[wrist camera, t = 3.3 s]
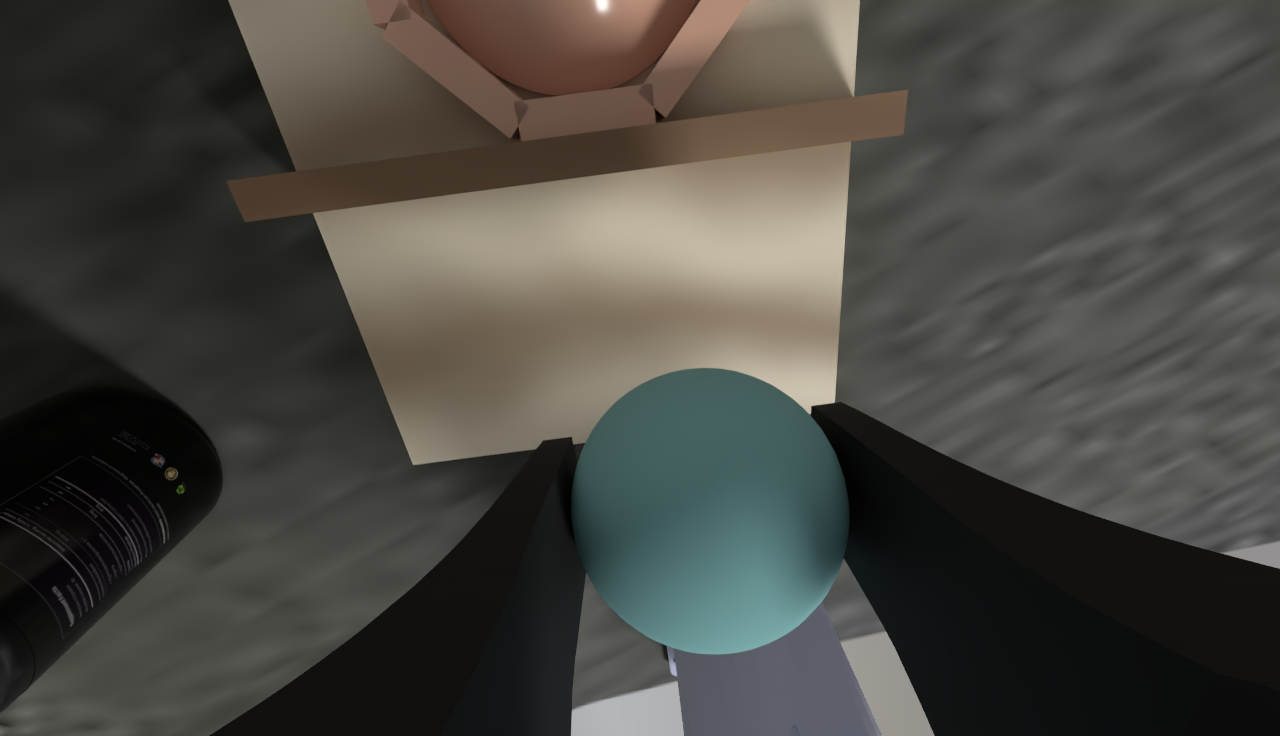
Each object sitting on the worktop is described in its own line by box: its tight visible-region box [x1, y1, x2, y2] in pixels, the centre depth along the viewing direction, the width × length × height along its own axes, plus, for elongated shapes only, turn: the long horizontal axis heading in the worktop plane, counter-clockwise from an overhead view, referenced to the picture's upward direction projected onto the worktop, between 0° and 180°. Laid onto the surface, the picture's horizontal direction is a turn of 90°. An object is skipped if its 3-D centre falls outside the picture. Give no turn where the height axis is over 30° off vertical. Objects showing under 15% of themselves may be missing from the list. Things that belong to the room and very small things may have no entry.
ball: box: [571, 368, 849, 654], centre depth 9 cm, size 5×5×5 cm
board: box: [226, 0, 908, 465], centre depth 14 cm, size 22×17×4 cm
